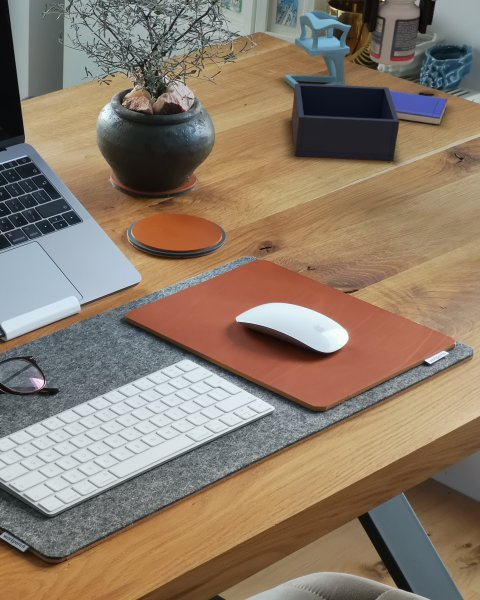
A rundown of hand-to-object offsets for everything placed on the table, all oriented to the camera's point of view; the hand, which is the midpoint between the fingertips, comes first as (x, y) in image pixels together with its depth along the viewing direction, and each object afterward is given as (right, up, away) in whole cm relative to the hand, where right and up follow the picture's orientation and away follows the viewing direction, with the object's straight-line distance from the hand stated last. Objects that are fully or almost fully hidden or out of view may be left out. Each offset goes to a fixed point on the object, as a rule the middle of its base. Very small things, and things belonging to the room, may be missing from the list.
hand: (395, 28), depth 134 cm
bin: (-1, -10, +25) cm, 27 cm away
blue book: (+11, -4, +35) cm, 37 cm away
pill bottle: (0, -4, +2) cm, 4 cm away
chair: (0, +1, +44) cm, 44 cm away
